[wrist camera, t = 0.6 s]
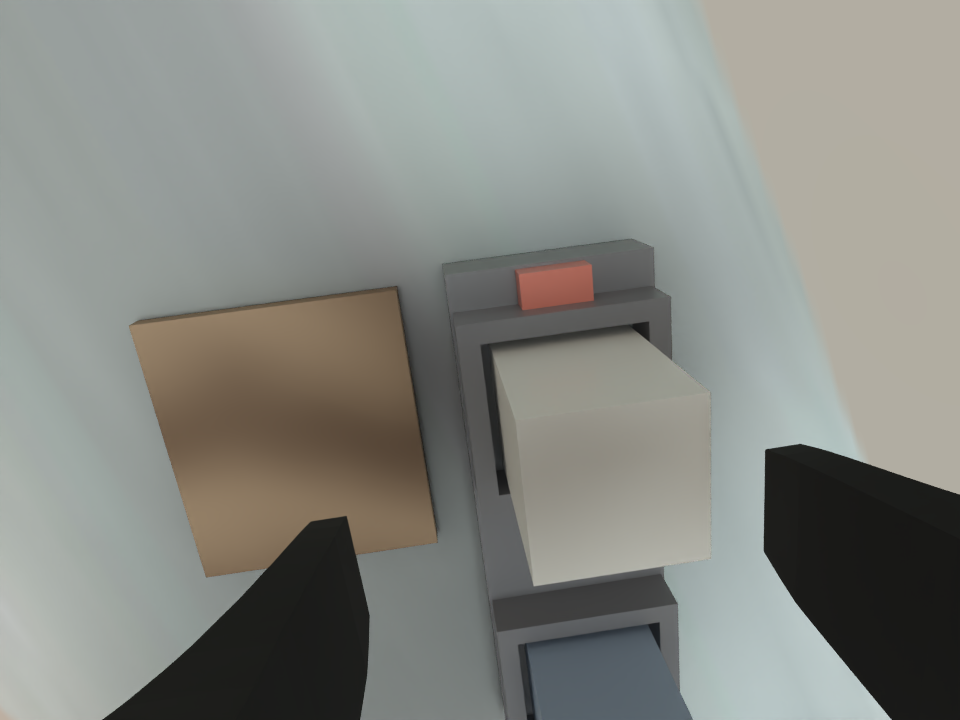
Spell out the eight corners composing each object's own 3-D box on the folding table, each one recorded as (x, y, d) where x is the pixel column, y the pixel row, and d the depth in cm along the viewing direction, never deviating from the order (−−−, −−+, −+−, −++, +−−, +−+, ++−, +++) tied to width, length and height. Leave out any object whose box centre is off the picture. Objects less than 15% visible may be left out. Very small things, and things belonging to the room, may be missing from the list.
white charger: (628, 442, 20) (711, 558, 14) (502, 460, 19) (533, 586, 14) (622, 319, 18) (710, 392, 13) (487, 338, 18) (515, 420, 12)
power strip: (655, 798, 27) (687, 887, 24) (519, 821, 27) (532, 914, 24) (631, 238, 20) (673, 255, 16) (442, 264, 19) (445, 285, 16)
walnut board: (437, 532, 22) (437, 542, 22) (212, 566, 22) (206, 577, 21) (396, 286, 19) (395, 290, 19) (137, 320, 19) (128, 325, 19)
